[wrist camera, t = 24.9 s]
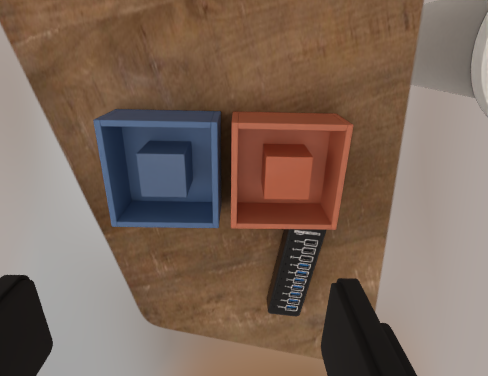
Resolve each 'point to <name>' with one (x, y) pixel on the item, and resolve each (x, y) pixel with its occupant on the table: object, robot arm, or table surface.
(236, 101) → the table surface
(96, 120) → the blue bin
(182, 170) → the blue block
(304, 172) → the terracotta block
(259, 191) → the terracotta bin
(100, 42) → the table surface
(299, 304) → the multiport hub
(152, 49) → the table surface
